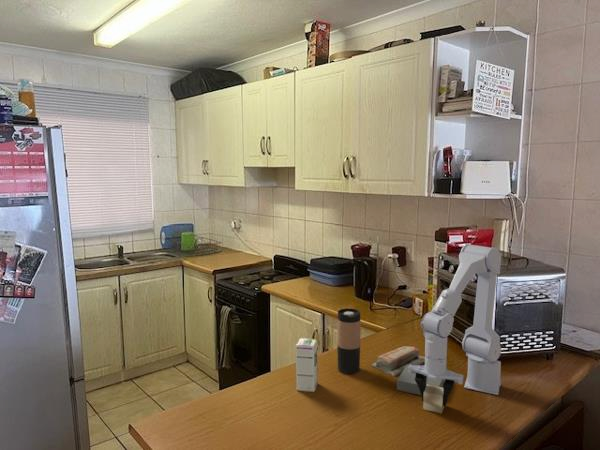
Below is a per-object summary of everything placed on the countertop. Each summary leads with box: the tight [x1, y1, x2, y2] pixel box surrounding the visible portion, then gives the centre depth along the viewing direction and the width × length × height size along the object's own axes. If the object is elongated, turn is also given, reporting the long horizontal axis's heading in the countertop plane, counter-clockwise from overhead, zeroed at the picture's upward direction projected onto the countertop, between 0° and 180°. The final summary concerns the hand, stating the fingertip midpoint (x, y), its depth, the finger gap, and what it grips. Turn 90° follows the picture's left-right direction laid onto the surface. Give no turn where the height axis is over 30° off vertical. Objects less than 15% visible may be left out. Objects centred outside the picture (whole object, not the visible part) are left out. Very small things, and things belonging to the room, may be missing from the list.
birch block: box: [422, 384, 445, 415], centre depth 121 cm, size 5×5×5 cm
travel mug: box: [336, 308, 361, 375], centre depth 143 cm, size 8×8×20 cm
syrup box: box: [295, 337, 319, 393], centre depth 132 cm, size 6×6×14 cm
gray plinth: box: [396, 365, 445, 396], centre depth 133 cm, size 12×12×3 cm
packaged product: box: [371, 345, 425, 377], centre depth 149 cm, size 18×5×10 cm
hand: (434, 402), depth 121 cm, fingers closed on birch block, 5 cm apart
